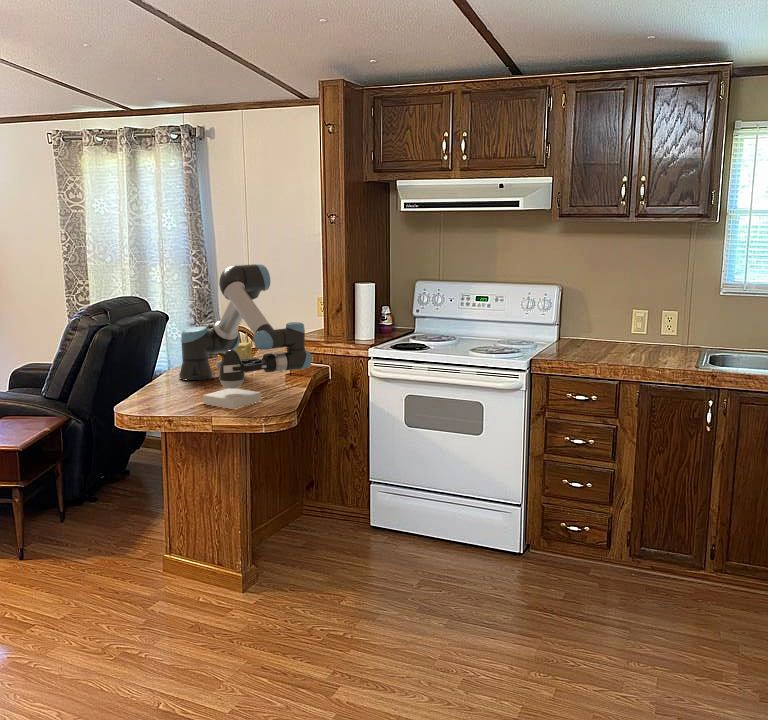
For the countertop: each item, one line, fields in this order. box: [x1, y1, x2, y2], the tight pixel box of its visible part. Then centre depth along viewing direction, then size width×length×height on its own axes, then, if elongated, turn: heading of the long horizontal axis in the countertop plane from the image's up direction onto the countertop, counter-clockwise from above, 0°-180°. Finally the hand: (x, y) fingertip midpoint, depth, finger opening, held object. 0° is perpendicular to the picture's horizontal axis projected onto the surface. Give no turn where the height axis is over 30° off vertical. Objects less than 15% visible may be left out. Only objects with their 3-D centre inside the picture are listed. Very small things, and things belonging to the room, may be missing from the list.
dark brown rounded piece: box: [217, 350, 246, 389], centre depth 318 cm, size 10×10×15 cm
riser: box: [202, 388, 262, 410], centre depth 320 cm, size 16×16×4 cm
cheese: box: [235, 342, 253, 359], centre depth 408 cm, size 10×11×10 cm
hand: (220, 367), depth 316 cm, fingers closed on dark brown rounded piece, 9 cm apart
